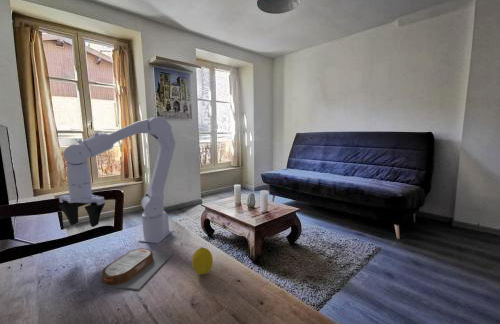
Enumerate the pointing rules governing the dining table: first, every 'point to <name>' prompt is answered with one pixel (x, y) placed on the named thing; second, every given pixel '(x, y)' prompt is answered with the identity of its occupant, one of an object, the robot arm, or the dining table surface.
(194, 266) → the lemon
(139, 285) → the felt mat
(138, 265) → the tin
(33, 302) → the dining table surface
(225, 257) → the dining table surface
